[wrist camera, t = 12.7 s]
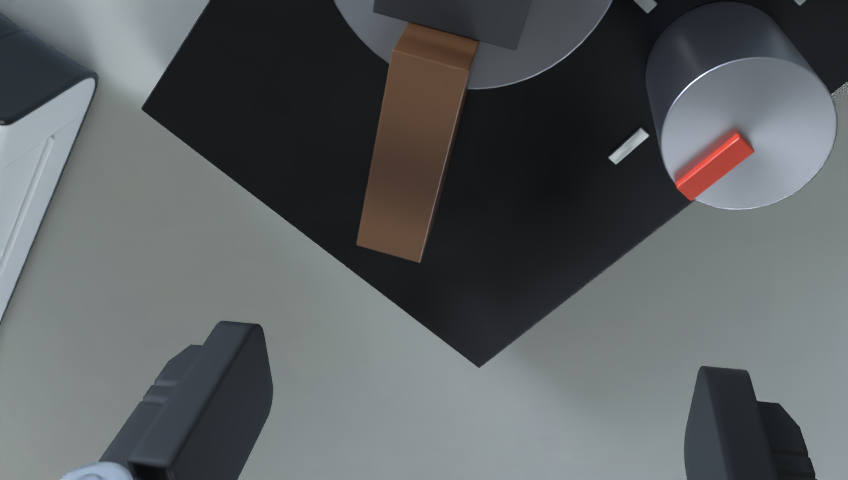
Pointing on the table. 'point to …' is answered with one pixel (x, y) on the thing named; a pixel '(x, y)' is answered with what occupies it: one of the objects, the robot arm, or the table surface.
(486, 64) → the burner
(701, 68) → the hob knob
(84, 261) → the table surface
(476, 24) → the spatula
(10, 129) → the laminator
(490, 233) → the hob
